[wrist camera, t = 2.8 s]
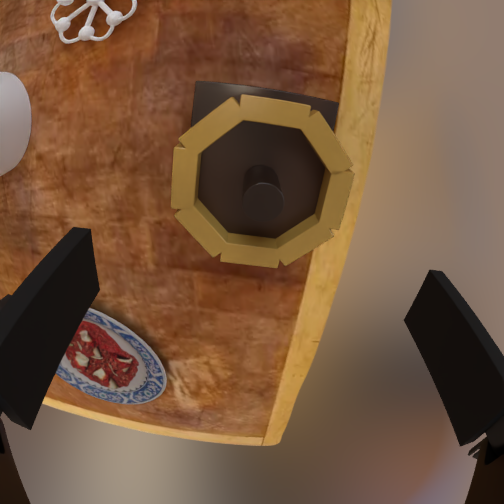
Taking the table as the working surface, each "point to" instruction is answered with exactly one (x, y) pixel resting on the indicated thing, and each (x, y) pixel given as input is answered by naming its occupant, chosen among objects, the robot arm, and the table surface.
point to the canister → (13, 121)
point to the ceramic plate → (112, 362)
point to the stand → (259, 165)
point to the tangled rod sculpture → (89, 19)
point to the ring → (255, 247)
